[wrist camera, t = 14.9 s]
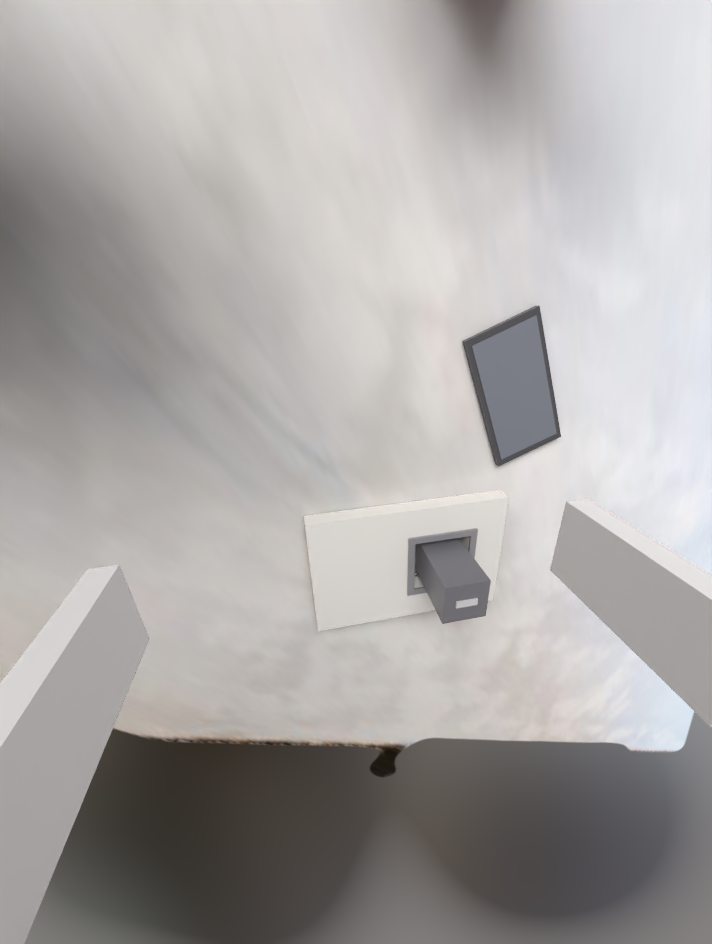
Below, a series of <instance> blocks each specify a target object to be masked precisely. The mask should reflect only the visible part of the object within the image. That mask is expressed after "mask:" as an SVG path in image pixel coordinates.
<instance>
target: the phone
mask: <svg viewBox="0 0 712 944" xmlns="http://www.w3.org/2000/svg"><path fill="white" fill-rule="evenodd" d="M462 342H463V345H464V349H465V353H466V356H467V360H468V364H469V368H470V371H471V375H472V379H473V382H474V386H475V390H476V394H477V397H478V401H479V405H480V409H481V412H482V416H483V420H484V423H485V427H486V431H487V435H488V438H489V442H490V446H491V450H492V453H493V457H494V461H495V464H496V465H498V466H500V465H502V464H504V463H506V462H508V461H510V460H512V459H514V458H517V457H519V456H521V455H523V454H525V453H527V452H529V451H531V450H533V449H536V448H538V447H540V446H542V445H544V444H546V443H548V442H550V441H552V440H554V439H557V438H559V437H561V434H560V428H559V422H558V416H557V410H556V404H555V398H554V392H553V386H552V379H551V373H550V367H549V361H548V355H547V349H546V343H545V337H544V331H543V325H542V319H541V313H540V307H539V306H534V307H532V308H530V309H528V310H526V311H524V312H522V313H520V314H518V315H516V316H514V317H511V318H509V319H507V320H505V321H503V322H501V323H499V324H497V325H495V326H493V327H491V328H489V329H487V330H484V331H482V332H480V333H478V334H476V335H474V336H472V337H470V338H468V339H466V340H464V341H462Z"/></svg>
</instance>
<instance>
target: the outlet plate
mask: <svg viewBox="0 0 712 944" xmlns="http://www.w3.org/2000/svg"><path fill="white" fill-rule="evenodd" d="M508 502H509V497H508V496H507V495H506V494H505V493H503V492H502V491H501V490H494V491H487V492H479V493H471V494H464V495H456V496H449V497H441V498H434V499H426V500H419V501H411V502H403V503H396V504H388V505H381V506H373V507H366V508H358V509H350V510H343V511H335V512H328V513H320V514H313V515H305V516H304V523H305V531H306V539H307V547H308V556H309V564H310V572H311V580H312V588H313V596H314V604H315V612H316V620H317V628H318V632H319V631H324V630H330V629H335V628H341V627H346V626H352V625H357V624H363V623H369V622H374V621H380V620H385V619H391V618H396V617H402V616H407V615H413V614H418V613H424V612H430V611H435V608H434V606H433V604H432V602H431V600H430V598H429V596H428V594H427V592H426V590H425V588H424V586H423V584H422V582H421V580H420V578H419V576H416V577H414V575H415V544H421V543H428V542H434V541H441V540H448V539H454V538H461V542H462V543H463V545H464V546H465V547H466V549H467V550H468V551H469V552H470V554H471V555H472V556H473V558H474V559H475V560H476V562H477V563H478V564H479V566H480V567H481V568H482V570H483V571H484V572H485V573H486V575H487V576H488V577H489V579H490V580H491V583H490V590H489V596H488V601H490V600H493V598H494V592H495V585H496V579H497V572H498V566H499V560H500V553H501V547H502V540H503V534H504V527H505V521H506V515H507V508H508Z"/></svg>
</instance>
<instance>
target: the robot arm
mask: <svg viewBox="0 0 712 944" xmlns="http://www.w3.org/2000/svg"><path fill="white" fill-rule="evenodd" d="M550 570H551V571H552V572H553V573H554V574H555V575H556V576H557V577H558V578H559V579H560V580H561V581H562V582H563V583H564V584H565V585H566V586H567V587H568V588H569V589H570V590H571V591H572V592H573V593H574V594H575V595H576V596H577V597H578V598H579V599H580V600H581V601H582V602H583V603H584V604H585V605H586V606H587V607H588V608H589V609H590V610H591V611H593V612H594V613H595V614H596V615H597V616H598V617H599V618H600V619H601V620H602V621H603V622H604V623H605V624H606V625H607V626H608V627H609V628H610V629H611V630H612V631H613V632H614V633H615V634H616V635H617V636H618V637H619V638H620V639H621V640H622V641H623V642H624V643H625V644H626V645H627V646H628V647H629V648H630V649H631V650H632V651H633V652H634V653H636V654H637V655H638V656H639V657H640V658H641V659H642V660H643V661H644V662H645V663H646V664H647V665H648V666H649V667H650V668H651V669H652V670H653V671H654V672H655V673H656V674H657V675H658V676H659V677H660V678H661V679H662V680H663V681H664V682H665V683H666V684H667V685H668V686H669V687H670V688H671V689H672V690H673V691H674V692H675V693H676V694H678V695H679V696H680V697H681V698H682V699H683V700H684V701H685V702H686V703H687V704H688V705H689V706H690V707H691V708H692V709H693V710H694V711H695V712H696V713H697V714H698V715H699V716H700V717H701V718H702V719H703V720H704V721H705V722H706V723H707V724H708V725H709V726H710V727H711V728H712V575H711V574H709V573H708V572H706V571H704V570H703V569H701V568H700V567H698V566H696V565H695V564H693V563H691V562H690V561H688V560H687V559H685V558H683V557H682V556H680V555H678V554H677V553H675V552H674V551H672V550H670V549H669V548H667V547H666V546H664V545H662V544H661V543H659V542H657V541H656V540H654V539H653V538H651V537H649V536H648V535H646V534H645V533H643V532H641V531H640V530H638V529H636V528H635V527H633V526H632V525H630V524H628V523H627V522H625V521H624V520H622V519H620V518H619V517H617V516H615V515H614V514H612V513H611V512H609V511H607V510H606V509H604V508H603V507H601V506H599V505H598V504H596V503H594V502H593V501H591V500H590V499H588V498H586V499H579V500H572V501H566V505H565V509H564V513H563V517H562V522H561V526H560V530H559V534H558V539H557V543H556V547H555V552H554V556H553V560H552V564H551V569H550ZM148 641H149V636H148V634H147V631H146V629H145V627H144V624H143V622H142V619H141V617H140V614H139V612H138V609H137V607H136V604H135V602H134V599H133V597H132V594H131V592H130V589H129V587H128V585H127V582H126V580H125V577H124V575H123V572H122V570H121V567H120V565H113V566H106V567H99V568H92V569H87V571H86V572H85V573H84V575H83V576H82V577H81V578H80V580H79V581H78V582H77V584H76V585H75V586H74V588H73V589H72V590H71V592H70V593H69V594H68V595H67V597H66V598H65V599H64V601H63V602H62V603H61V605H60V606H59V607H58V609H57V610H56V611H55V613H54V614H53V615H52V616H51V618H50V619H49V620H48V622H47V623H46V624H45V626H44V627H43V628H42V630H41V631H40V632H39V634H38V635H37V636H36V637H35V639H34V640H33V641H32V643H31V644H30V645H29V647H28V648H27V649H26V651H25V652H24V653H23V655H22V656H21V657H20V658H19V660H18V661H17V662H16V664H15V665H14V666H13V668H12V669H11V670H10V672H9V673H8V674H7V676H6V677H5V678H4V679H3V681H2V682H1V683H0V944H24V943H25V940H26V938H27V935H28V933H29V930H30V928H31V926H32V923H33V921H34V918H35V916H36V913H37V911H38V909H39V906H40V904H41V901H42V899H43V896H44V894H45V892H46V889H47V887H48V884H49V882H50V879H51V877H52V874H53V872H54V870H55V867H56V865H57V862H58V860H59V857H60V855H61V853H62V850H63V847H64V845H65V843H66V840H67V838H68V836H69V833H70V831H71V828H72V826H73V824H74V821H75V819H76V816H77V814H78V811H79V809H80V806H81V804H82V802H83V799H84V797H85V794H86V792H87V789H88V787H89V785H90V782H91V780H92V777H93V775H94V773H95V770H96V768H97V765H98V763H99V760H100V758H101V755H102V753H103V751H104V748H105V746H106V743H107V741H108V738H109V736H110V734H111V731H112V729H113V726H114V724H115V721H116V719H117V717H118V714H119V712H120V709H121V707H122V704H123V702H124V700H125V697H126V695H127V692H128V690H129V687H130V685H131V683H132V680H133V678H134V675H135V673H136V670H137V668H138V666H139V663H140V661H141V658H142V656H143V653H144V651H145V649H146V646H147V644H148Z"/></svg>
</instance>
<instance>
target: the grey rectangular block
mask: <svg viewBox="0 0 712 944" xmlns="http://www.w3.org/2000/svg"><path fill="white" fill-rule="evenodd" d="M415 570H416V572H417V574H418V576H419V578H420V580H421V582H422V584H423V586H424V588H425V590H426V592H427V594H428V596H429V598H430V600H431V602H432V604H433V606H434V608H435V610H436V612H437V614H438V616H439V618H440V620H441V622H442V624H444V623H449V622H455V621H460V620H466V619H471V618H477V617H482V616H486V609H487V603H488V596H489V590H490V583H491V580H490V579H489V577H488V576H487V575H486V573H485V572H484V571H483V570H482V568H481V567H480V566H479V564H478V563H477V562H476V560H475V559H474V558H473V556H472V555H471V554H470V552H469V551H468V550H467V549H466V547H465V546H464V545H463V543H462V542H461V541H460V539H459V538H454V539H448V540H441V541H434V542H428V543H421V544H416V563H415Z"/></svg>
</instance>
